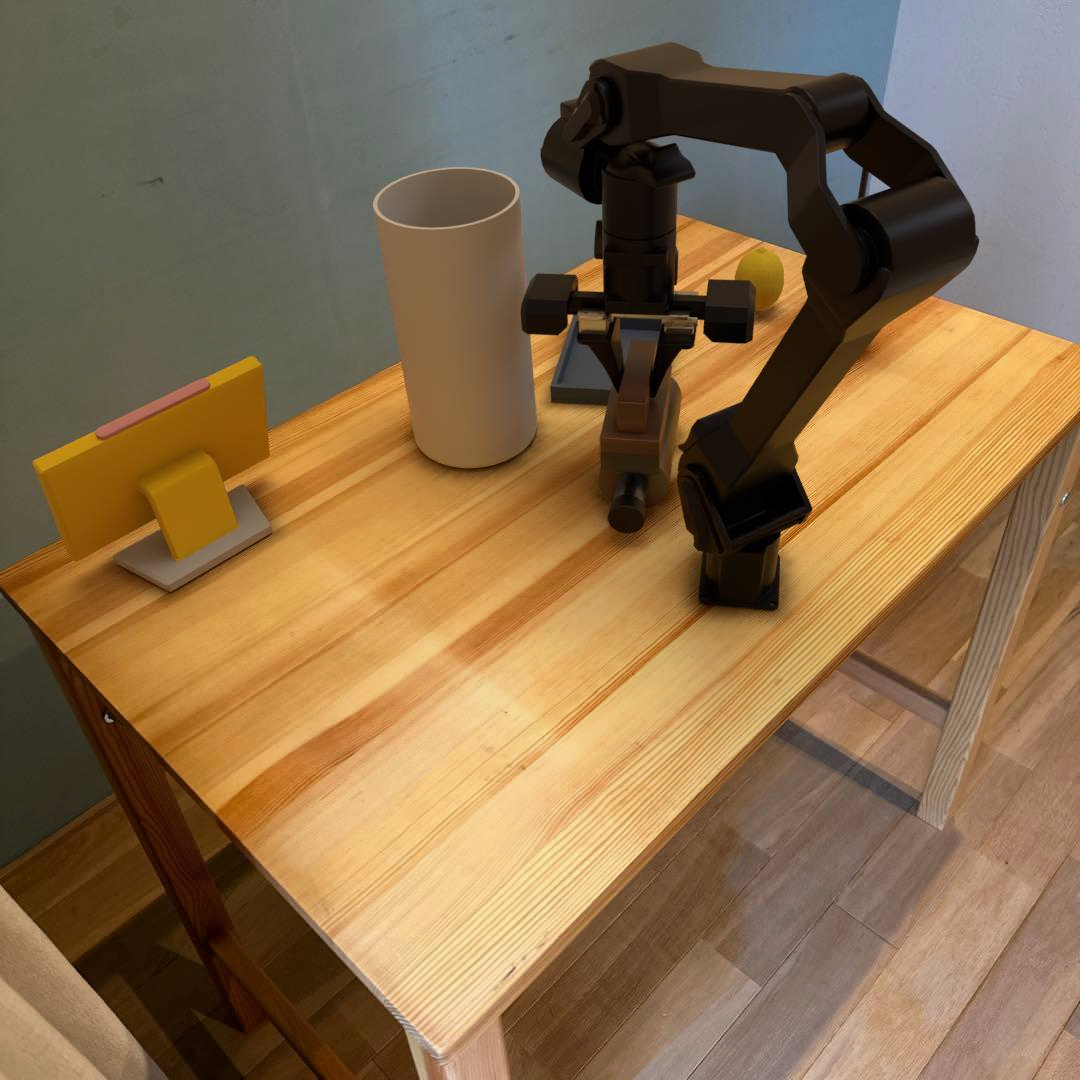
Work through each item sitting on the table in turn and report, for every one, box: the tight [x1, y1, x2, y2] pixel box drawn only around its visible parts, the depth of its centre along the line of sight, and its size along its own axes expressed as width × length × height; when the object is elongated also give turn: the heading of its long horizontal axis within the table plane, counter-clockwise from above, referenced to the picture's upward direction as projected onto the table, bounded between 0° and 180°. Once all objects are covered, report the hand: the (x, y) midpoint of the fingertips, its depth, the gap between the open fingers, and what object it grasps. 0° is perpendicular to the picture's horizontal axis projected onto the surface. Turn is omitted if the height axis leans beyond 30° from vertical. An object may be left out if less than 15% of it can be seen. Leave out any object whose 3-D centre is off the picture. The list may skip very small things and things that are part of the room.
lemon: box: [733, 246, 785, 313], centre depth 114 cm, size 6×6×8 cm
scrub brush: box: [599, 339, 673, 474], centre depth 88 cm, size 12×5×6 cm, turn 170°
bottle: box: [596, 376, 683, 535], centre depth 93 cm, size 6×19×6 cm, turn 169°
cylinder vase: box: [372, 166, 538, 469], centre depth 94 cm, size 12×12×25 cm
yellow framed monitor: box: [31, 355, 273, 593], centre depth 87 cm, size 20×8×16 cm, turn 134°
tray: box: [549, 315, 662, 406], centre depth 109 cm, size 15×11×2 cm
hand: (637, 394), depth 88 cm, fingers closed on scrub brush, 2 cm apart
